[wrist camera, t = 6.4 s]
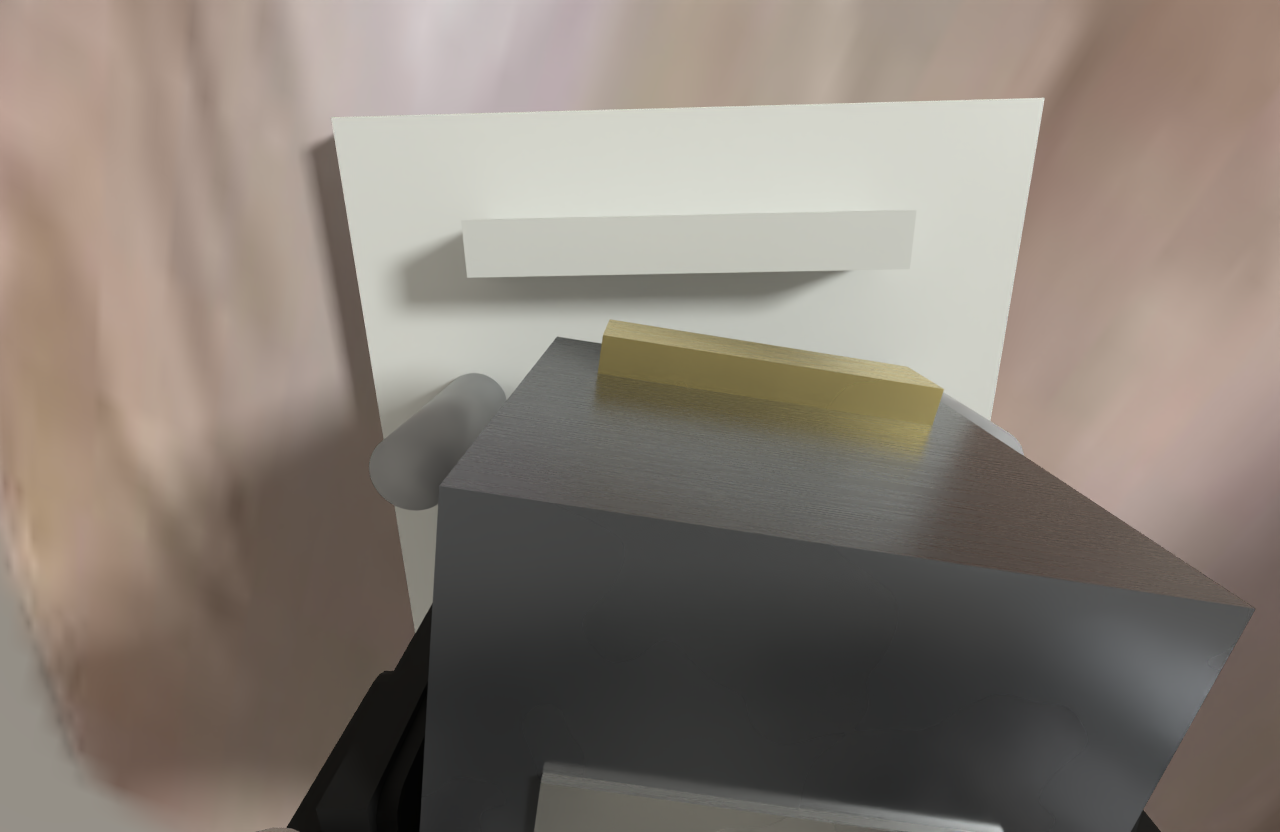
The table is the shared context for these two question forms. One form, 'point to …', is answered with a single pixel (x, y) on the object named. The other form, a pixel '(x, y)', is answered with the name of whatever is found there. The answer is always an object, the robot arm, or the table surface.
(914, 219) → the peg fixture base
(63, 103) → the table surface
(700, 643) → the drive
